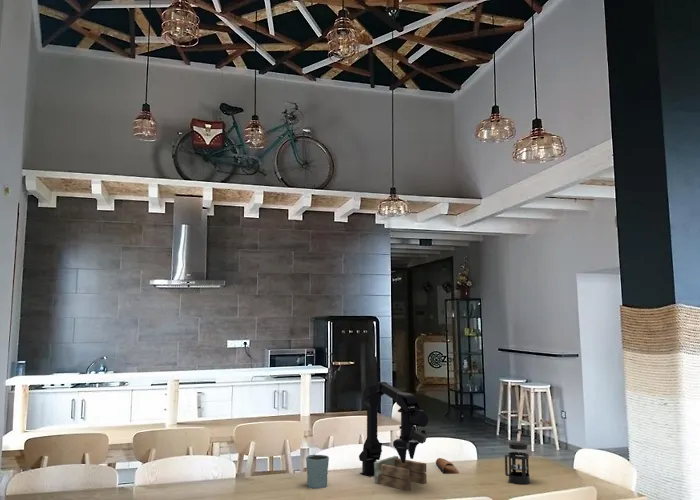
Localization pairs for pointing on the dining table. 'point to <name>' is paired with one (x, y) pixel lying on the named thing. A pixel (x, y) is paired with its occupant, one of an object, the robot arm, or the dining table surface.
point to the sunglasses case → (446, 466)
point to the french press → (514, 476)
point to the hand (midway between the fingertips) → (407, 460)
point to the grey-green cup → (317, 470)
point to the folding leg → (395, 471)
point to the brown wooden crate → (415, 475)
